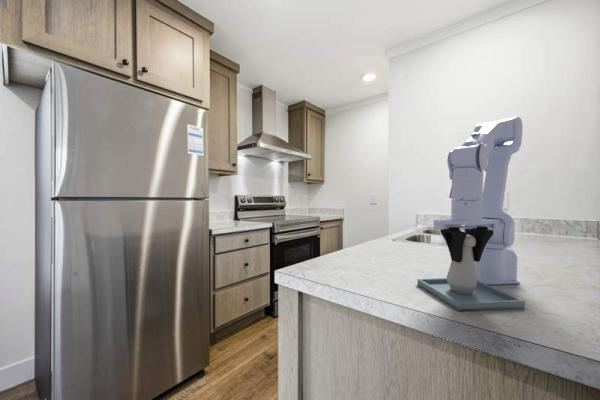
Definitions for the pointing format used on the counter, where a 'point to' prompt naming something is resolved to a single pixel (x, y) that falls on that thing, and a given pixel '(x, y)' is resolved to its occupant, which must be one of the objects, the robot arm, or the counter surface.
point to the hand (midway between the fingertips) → (465, 260)
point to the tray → (471, 296)
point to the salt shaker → (463, 270)
